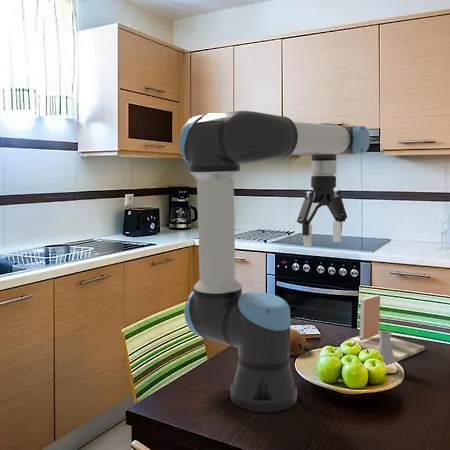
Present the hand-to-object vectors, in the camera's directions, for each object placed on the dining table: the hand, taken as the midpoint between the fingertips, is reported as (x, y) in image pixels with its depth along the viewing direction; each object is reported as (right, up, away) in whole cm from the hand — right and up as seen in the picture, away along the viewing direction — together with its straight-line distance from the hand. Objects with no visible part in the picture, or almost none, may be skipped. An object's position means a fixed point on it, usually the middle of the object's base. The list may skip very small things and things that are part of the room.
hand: (322, 244), depth 159 cm
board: (+16, -30, -8) cm, 35 cm away
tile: (+13, -28, -4) cm, 31 cm away
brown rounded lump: (-11, -31, -10) cm, 34 cm away
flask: (+11, -32, -25) cm, 42 cm away
